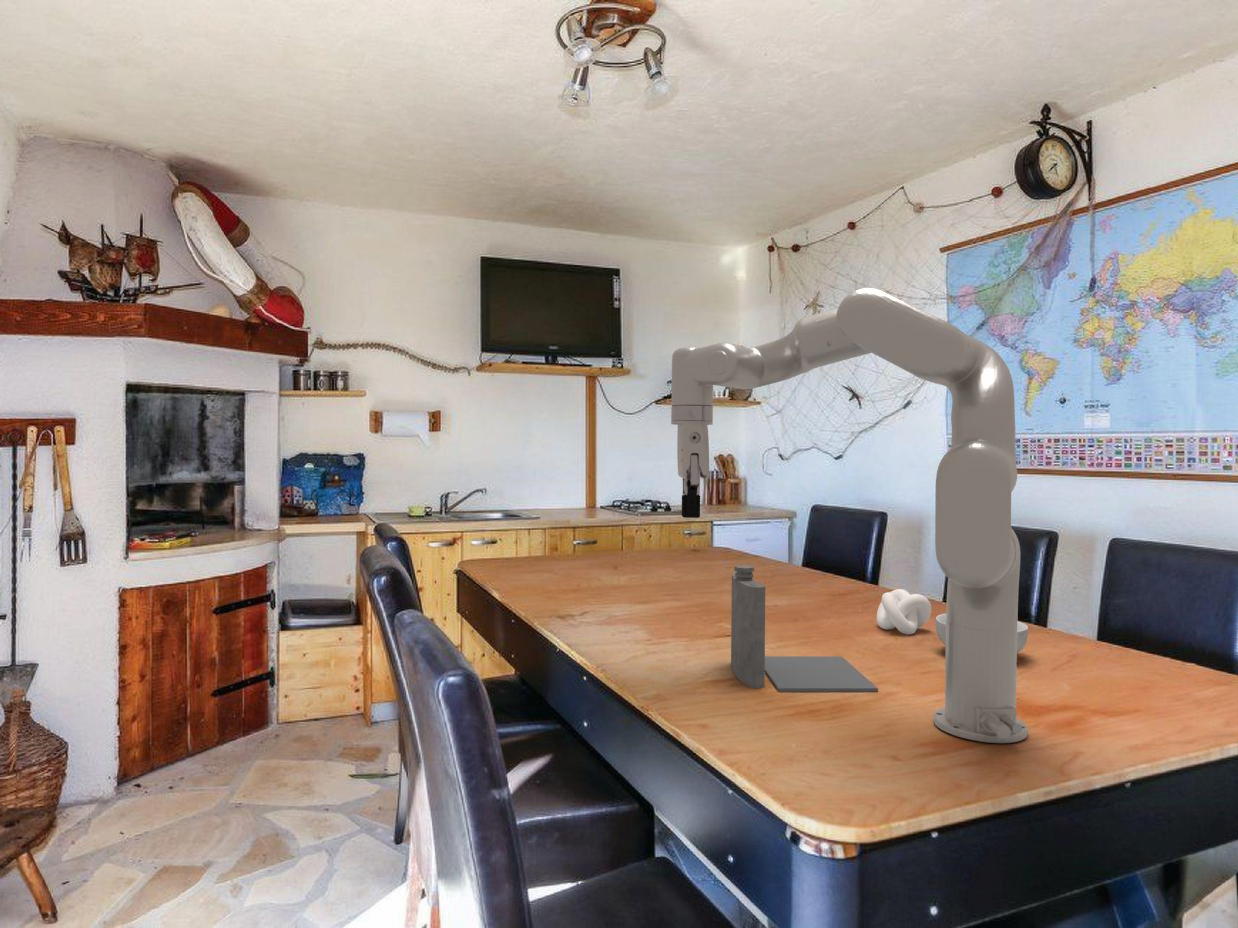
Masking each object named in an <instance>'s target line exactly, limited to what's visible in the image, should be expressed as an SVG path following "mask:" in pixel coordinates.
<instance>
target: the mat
mask: <svg viewBox="0 0 1238 928" xmlns="http://www.w3.org/2000/svg"><path fill="white" fill-rule="evenodd" d="M765 676H767V678H768V679H769V680H770V682H771V684H772V685H773V686H774V687H775V689H776V690H777V692H778V693H878V692H879V688H878V687H877V686H876V685H875V684H874V683H872V681H870V680H869V679H868V678H867V677H866V676H864V675H863V674H862V673H861V672H860V670H858V669H857V668H856V667H855V666H853V665H852V664H851V663H850V662H849V661H848V660H846V659H845V658H844V657H843V656H839V655H838V656H833V655H832V656H829V655H827V656H823V655H822V656H819V655H818V656H816V655H815V656H809V655H808V656H803V655H802V656H794V655H793V656H792V655H791V656H790V655H789V656H785V655H783V656H775V655H774V656H768V655H765Z"/></svg>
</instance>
